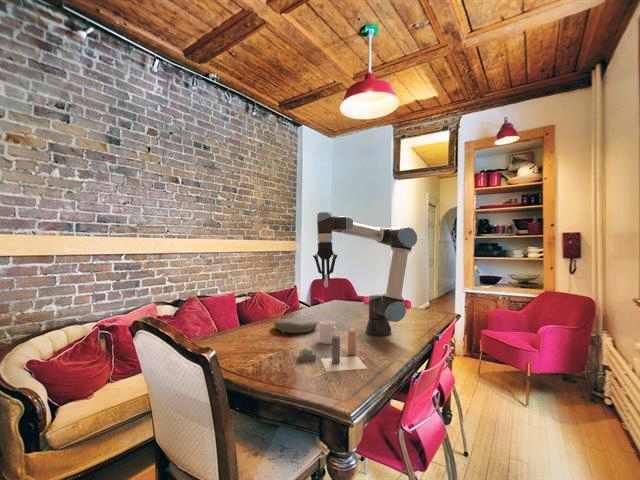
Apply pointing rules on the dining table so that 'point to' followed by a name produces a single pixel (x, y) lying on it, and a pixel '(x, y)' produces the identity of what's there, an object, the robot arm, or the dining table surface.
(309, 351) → the button
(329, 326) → the mug
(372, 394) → the dining table surface
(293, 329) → the flat disc
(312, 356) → the button base
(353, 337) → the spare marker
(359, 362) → the paper
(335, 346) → the marker
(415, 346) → the dining table surface
